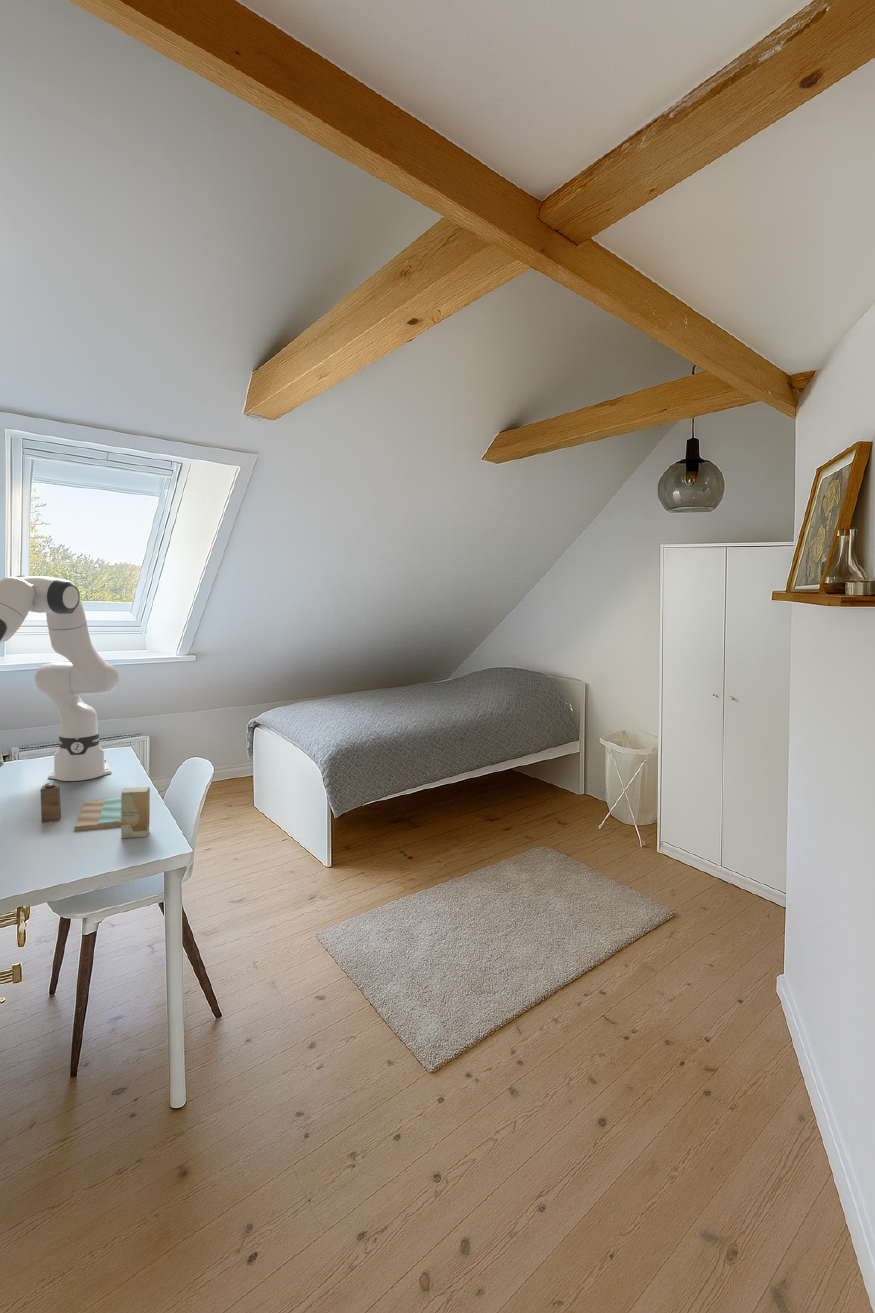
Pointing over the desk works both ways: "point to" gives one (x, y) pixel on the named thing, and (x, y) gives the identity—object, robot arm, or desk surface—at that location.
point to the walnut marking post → (50, 802)
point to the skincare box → (135, 812)
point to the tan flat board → (99, 814)
